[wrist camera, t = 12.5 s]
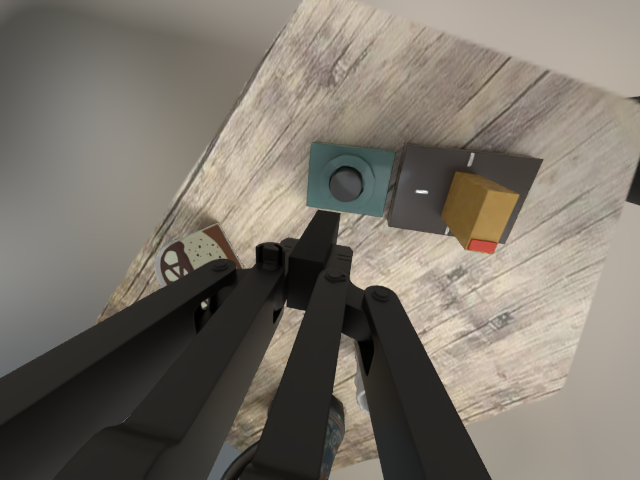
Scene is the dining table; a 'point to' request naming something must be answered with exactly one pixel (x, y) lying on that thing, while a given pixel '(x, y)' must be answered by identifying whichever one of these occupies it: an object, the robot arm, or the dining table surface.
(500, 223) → the lock knob
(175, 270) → the food container
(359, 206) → the push button box
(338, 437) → the beer stein
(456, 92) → the dining table surface
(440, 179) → the lock plate
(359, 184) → the bell button
